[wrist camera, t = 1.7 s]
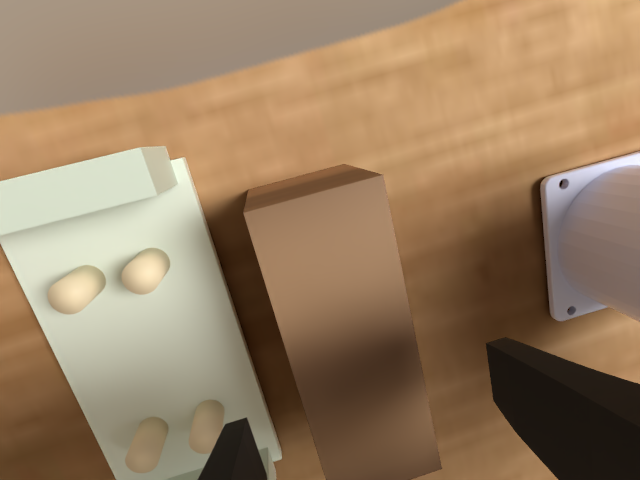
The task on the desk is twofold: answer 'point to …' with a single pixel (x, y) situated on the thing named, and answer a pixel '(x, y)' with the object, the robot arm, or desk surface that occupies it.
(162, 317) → the peg frame
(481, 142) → the desk surface
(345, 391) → the brown rectangular block
